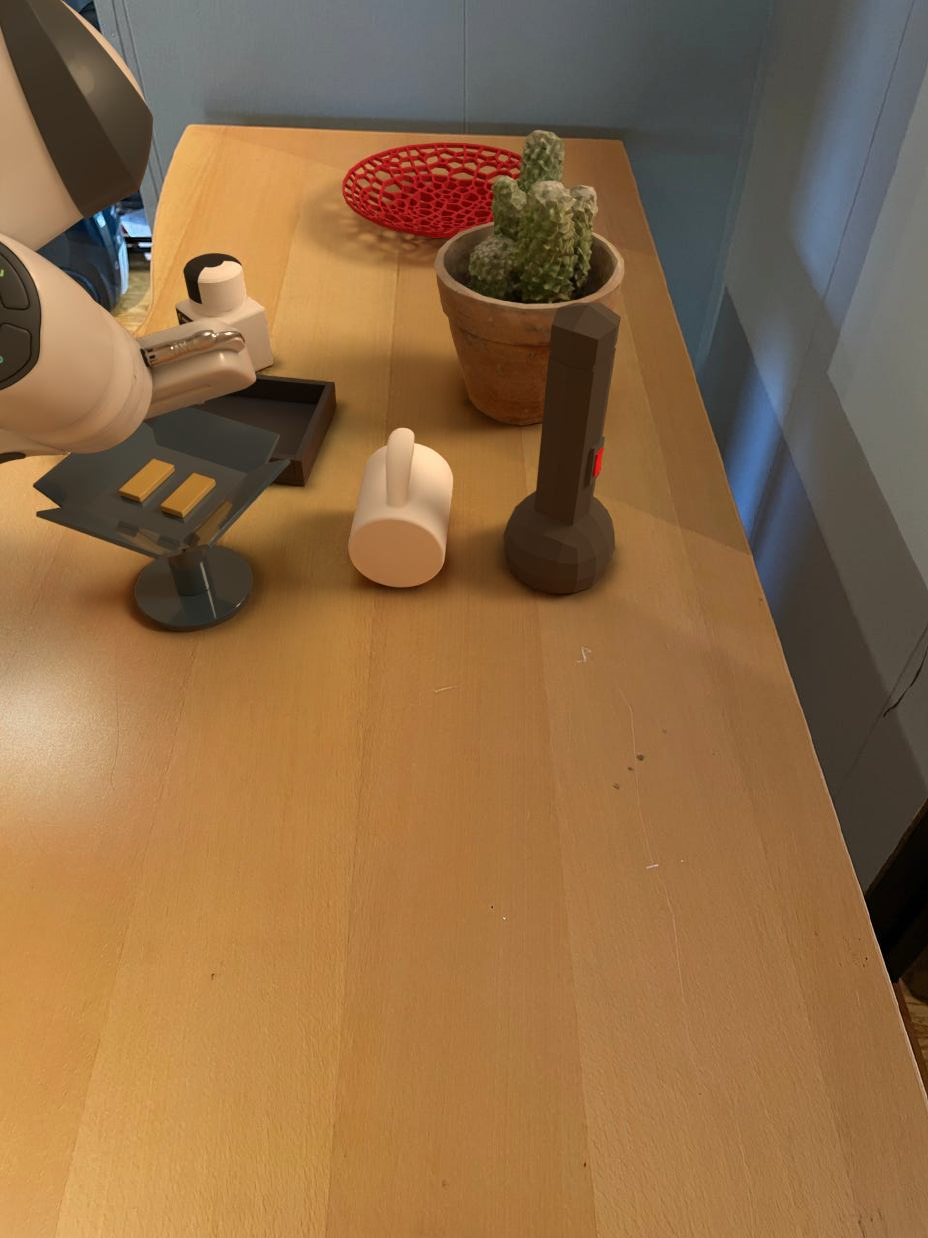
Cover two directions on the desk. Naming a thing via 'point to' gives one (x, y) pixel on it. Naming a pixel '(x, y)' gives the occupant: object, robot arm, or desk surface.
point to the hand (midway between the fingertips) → (132, 413)
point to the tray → (281, 418)
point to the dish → (182, 547)
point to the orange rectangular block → (147, 480)
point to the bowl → (429, 189)
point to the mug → (402, 513)
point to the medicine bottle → (225, 303)
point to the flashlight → (569, 460)
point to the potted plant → (523, 281)
